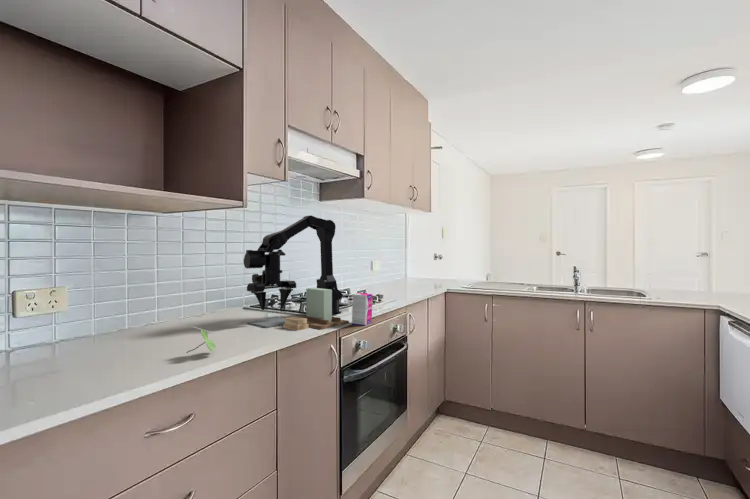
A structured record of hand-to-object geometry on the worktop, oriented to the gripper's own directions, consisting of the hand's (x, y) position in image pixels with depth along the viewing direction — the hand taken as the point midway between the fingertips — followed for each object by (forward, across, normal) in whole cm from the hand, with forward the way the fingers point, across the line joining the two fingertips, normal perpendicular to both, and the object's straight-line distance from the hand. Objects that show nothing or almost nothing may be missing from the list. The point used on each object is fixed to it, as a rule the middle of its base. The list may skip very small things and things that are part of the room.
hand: (272, 308), depth 146 cm
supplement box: (+6, -20, +28) cm, 35 cm away
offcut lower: (+6, 0, +14) cm, 15 cm away
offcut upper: (+4, 0, +14) cm, 14 cm away
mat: (+6, 0, 0) cm, 6 cm away
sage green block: (+4, -11, +14) cm, 18 cm away
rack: (+6, -11, +14) cm, 19 cm away
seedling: (+6, +40, +18) cm, 44 cm away
